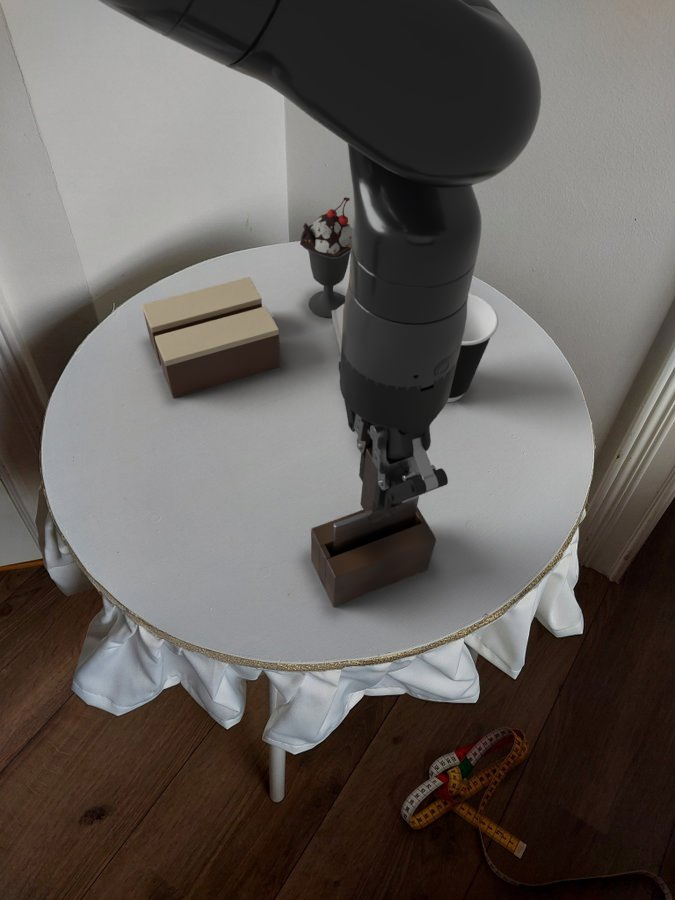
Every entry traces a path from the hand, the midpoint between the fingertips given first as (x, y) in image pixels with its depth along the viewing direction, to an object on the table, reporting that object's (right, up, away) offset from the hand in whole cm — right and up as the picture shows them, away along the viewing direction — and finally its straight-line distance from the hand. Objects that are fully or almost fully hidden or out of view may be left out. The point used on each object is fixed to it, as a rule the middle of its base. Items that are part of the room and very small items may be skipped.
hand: (380, 490), depth 60 cm
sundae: (-5, +22, +33) cm, 39 cm away
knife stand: (0, -8, +10) cm, 13 cm away
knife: (0, -8, +10) cm, 13 cm away
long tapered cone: (0, +10, +24) cm, 26 cm away
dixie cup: (+9, +11, +25) cm, 28 cm away
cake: (-18, +15, +27) cm, 35 cm away
